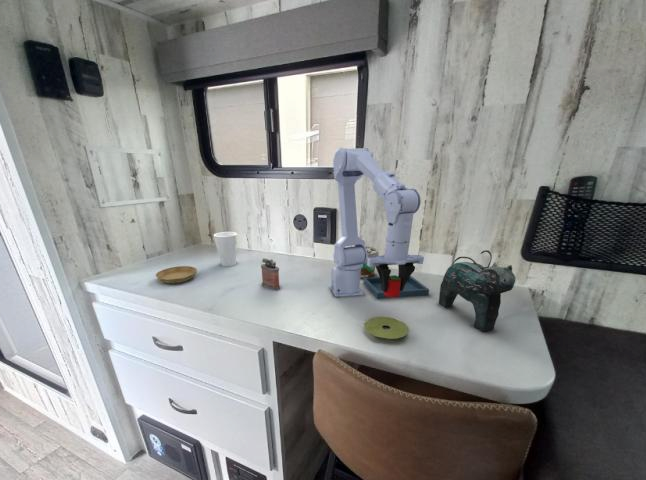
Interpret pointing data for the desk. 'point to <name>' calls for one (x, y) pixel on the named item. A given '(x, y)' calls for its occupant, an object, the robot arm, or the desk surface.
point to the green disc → (386, 327)
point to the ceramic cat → (477, 289)
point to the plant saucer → (176, 274)
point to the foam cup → (226, 247)
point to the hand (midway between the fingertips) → (391, 290)
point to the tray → (409, 290)
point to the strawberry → (393, 286)
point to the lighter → (270, 274)
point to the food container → (366, 270)
